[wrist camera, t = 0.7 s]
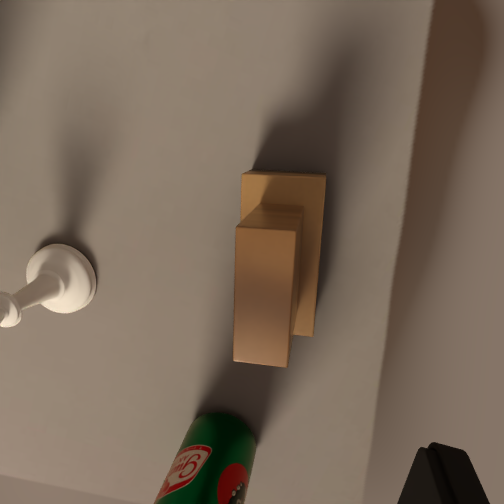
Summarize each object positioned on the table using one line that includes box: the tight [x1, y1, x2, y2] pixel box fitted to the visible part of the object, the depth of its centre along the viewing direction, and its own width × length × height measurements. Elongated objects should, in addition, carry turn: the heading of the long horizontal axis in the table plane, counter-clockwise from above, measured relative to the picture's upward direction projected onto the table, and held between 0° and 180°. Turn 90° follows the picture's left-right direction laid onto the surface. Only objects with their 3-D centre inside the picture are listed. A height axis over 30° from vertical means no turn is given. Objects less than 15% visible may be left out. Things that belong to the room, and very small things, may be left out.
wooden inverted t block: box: [233, 169, 326, 368], centre depth 21 cm, size 9×4×9 cm, turn 178°
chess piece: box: [0, 244, 96, 327], centre depth 24 cm, size 5×5×10 cm
